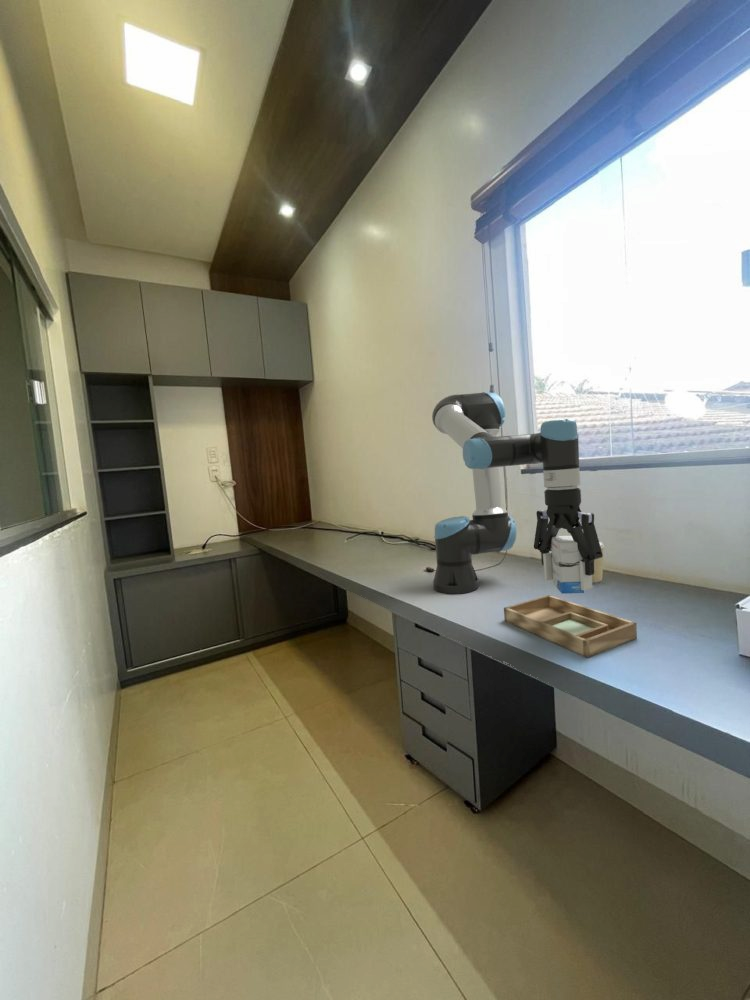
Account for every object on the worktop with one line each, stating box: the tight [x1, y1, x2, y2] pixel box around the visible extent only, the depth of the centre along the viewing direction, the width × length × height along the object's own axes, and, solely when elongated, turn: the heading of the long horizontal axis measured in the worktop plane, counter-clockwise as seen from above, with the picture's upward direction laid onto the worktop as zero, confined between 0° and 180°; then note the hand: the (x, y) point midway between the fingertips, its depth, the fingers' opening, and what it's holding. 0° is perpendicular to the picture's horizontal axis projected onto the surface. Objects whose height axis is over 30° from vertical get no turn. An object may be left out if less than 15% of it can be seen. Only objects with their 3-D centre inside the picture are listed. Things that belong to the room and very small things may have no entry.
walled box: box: [503, 594, 638, 659], centre depth 96 cm, size 24×16×4 cm, turn 24°
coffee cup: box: [582, 541, 605, 583], centre depth 130 cm, size 9×9×12 cm
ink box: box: [550, 535, 585, 594], centre depth 92 cm, size 8×5×12 cm, turn 168°
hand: (567, 583), depth 92 cm, fingers closed on ink box, 9 cm apart
